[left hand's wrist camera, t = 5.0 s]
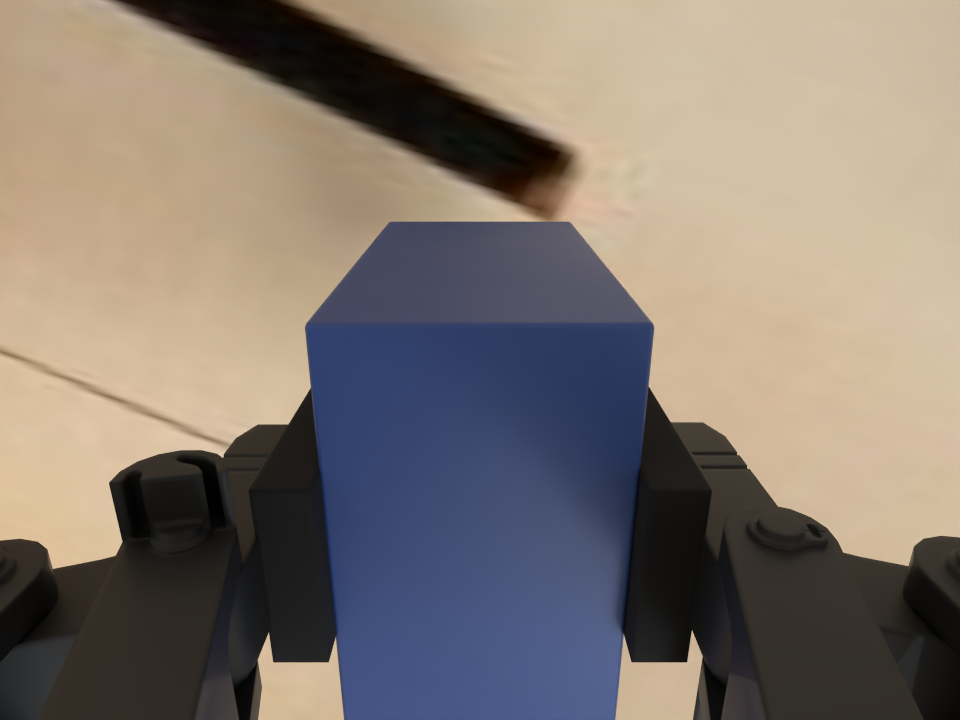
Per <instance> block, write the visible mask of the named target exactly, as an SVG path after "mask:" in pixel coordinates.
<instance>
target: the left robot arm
mask: <svg viewBox="0 0 960 720" xmlns="http://www.w3.org/2000/svg"><path fill="white" fill-rule="evenodd" d="M109 485H110V489H111V494H112V498H113V502H114V507H115V511H116V515H117V519H118V524H119V528H120V532H121V537H122V541H123V542H122V544H121V546H120V548H119V551H118V553H117V555H116V556H114V557H110V558H106V559H102V560H97V561H92V562H87V563H82V564H77V565H72V566H66V567H61V568H56V569H53V568H52V565H51V561H50V558H49V554H48V550H47V549H46V548H45V547H43V546H42V545H41V544H40V543H38V542H36V541H30V540H24V539H14V540H3V541H0V720H258V715H259V707H260V698H261V690H262V686H261V679H260V672H259V665H258V657H259V655H260V652H261V650H262V647H263V645H264V642H265V640H266V638H267V635H268V633H269V635H270V642H271V649H272V656H273V662H329V659H330V656H331V652H332V648H333V645H334V641H335V637H336V628H335V618H334V608H333V598H332V588H331V578H330V568H329V558H328V547H327V537H326V527H325V517H324V507H323V497H322V487H321V477H320V469H319V462H318V452H317V442H316V432H315V422H314V412H313V402H312V392H311V389H310V390H309V392H308V394H307V395H306V397H305V399H304V400H303V402H302V404H301V405H300V407H299V408H298V410H297V412H296V413H295V415H294V417H293V418H292V420H291V422H290V423H289V425H257V426H255V427H253V428H252V429H250V430H249V431H247V432H245V433H244V434H242V435H241V436H239V437H237V438H236V439H235V440H234V442H233V443H232V444H231V446H230V447H229V448H228V450H227V451H226V452H225V454H224V458H222V457H220V456H219V455H218V454H215V453H211V452H206V451H202V450H181V451H175V452H170V453H164V454H159V455H156V456H153V457H150V458H147V459H144V460H141V461H138V462H136V463H134V464H133V465H131V466H129V467H127V468H126V469H124V470H122V471H120V472H119V473H118V474H117V475H116V476H115V477H114V478H113V479H112V480H111V481H110V482H109ZM691 631H693V633H694V636H695V638H696V640H697V643H698V645H699V648H700V650H701V653H702V655H703V659H702V665H701V672H700V678H699V685H698V691H697V697H696V704H695V710H694V717H693V720H960V538H958V537H947V536H938V537H932V538H926V539H923V540H922V541H920V542H919V543H918V544H917V545H915V546H914V549H913V552H912V556H911V560H910V563H909V566H904V565H899V564H894V563H889V562H883V561H878V560H873V559H868V558H863V557H858V556H854V555H850V554H846V553H843V551H842V549H841V547H840V545H839V543H838V541H837V540H836V539H835V537H834V536H833V535H832V534H831V532H830V531H829V530H828V529H827V528H826V527H824V526H823V525H821V524H820V523H818V522H817V521H815V520H814V519H812V518H811V517H808V516H806V515H804V514H801V513H799V512H796V511H794V510H791V509H787V508H782V507H778V506H777V505H776V503H775V502H774V501H773V499H772V498H771V497H770V495H769V494H768V493H767V492H766V490H765V489H764V488H763V486H762V485H761V484H760V482H759V481H758V480H757V478H756V477H755V476H754V474H753V473H752V472H751V470H750V469H747V465H746V464H745V462H744V461H743V460H742V458H741V457H740V456H739V455H737V452H736V450H735V449H734V448H733V446H732V445H731V444H730V442H729V441H728V440H727V438H726V437H725V436H724V435H722V434H720V433H719V432H717V431H716V430H714V429H712V428H711V427H709V426H708V425H706V424H704V423H671V422H670V421H669V419H668V417H667V416H666V414H665V413H664V411H663V409H662V408H661V406H660V404H659V403H658V401H657V399H656V398H655V396H654V395H653V393H652V391H651V390H650V388H649V386H648V395H647V405H646V415H645V425H644V435H643V445H642V455H641V465H640V474H639V484H638V494H637V504H636V514H635V524H634V534H633V544H632V555H631V565H630V575H629V585H628V595H627V605H626V615H625V625H624V636H625V639H626V643H627V647H628V650H629V654H630V658H631V661H632V662H687V659H688V652H689V645H690V638H691Z"/></svg>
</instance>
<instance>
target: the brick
mask: <svg viewBox="0 0 960 720" xmlns="http://www.w3.org/2000/svg"><path fill="white" fill-rule="evenodd" d="M305 332H306V342H307V352H308V362H309V372H310V382H311V392H312V402H313V412H314V422H315V432H316V442H317V452H318V462H319V469H320V477H321V487H322V497H323V507H324V517H325V527H326V537H327V547H328V558H329V568H330V578H331V588H332V598H333V608H334V618H335V628H336V642H337V652H338V662H339V672H340V682H341V692H342V702H343V712H344V720H615V716H616V706H617V696H618V686H619V676H620V666H621V656H622V646H623V636H624V625H625V615H626V605H627V595H628V585H629V575H630V565H631V555H632V544H633V534H634V524H635V514H636V504H637V494H638V484H639V474H640V465H641V455H642V445H643V435H644V425H645V415H646V405H647V395H648V385H649V375H650V365H651V355H652V345H653V335H654V326H653V323H652V322H651V321H650V320H649V318H648V317H647V316H646V315H645V313H644V312H643V311H642V310H641V309H640V307H639V306H638V305H637V304H636V302H635V301H634V300H633V299H632V297H631V296H630V295H629V294H628V293H627V291H626V290H625V289H624V288H623V286H622V285H621V284H620V283H619V282H618V280H617V279H616V278H615V277H614V275H613V274H612V273H611V272H610V270H609V269H608V268H607V267H606V266H605V264H604V263H603V262H602V261H601V259H600V258H599V257H598V256H597V255H596V253H595V252H594V251H593V250H592V248H591V247H590V246H589V245H588V243H587V242H586V241H585V240H584V239H583V237H582V236H581V235H580V234H579V232H578V231H577V230H576V229H575V228H574V226H573V225H572V224H571V223H570V222H390V223H388V225H387V226H386V227H385V228H384V229H383V231H382V232H381V233H380V234H379V236H378V237H377V238H376V239H375V240H374V242H373V243H372V244H371V245H370V247H369V248H368V249H367V250H366V251H365V253H364V254H363V255H362V256H361V258H360V259H359V260H358V261H357V262H356V264H355V265H354V266H353V267H352V269H351V270H350V271H349V272H348V273H347V275H346V276H345V277H344V278H343V280H342V281H341V282H340V283H339V284H338V286H337V287H336V288H335V289H334V291H333V292H332V293H331V294H330V295H329V297H328V298H327V299H326V300H325V302H324V303H323V304H322V305H321V306H320V308H319V309H318V310H317V311H316V313H315V314H314V315H313V316H312V317H311V319H310V320H309V321H308V322H307V324H306V326H305Z"/></svg>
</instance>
